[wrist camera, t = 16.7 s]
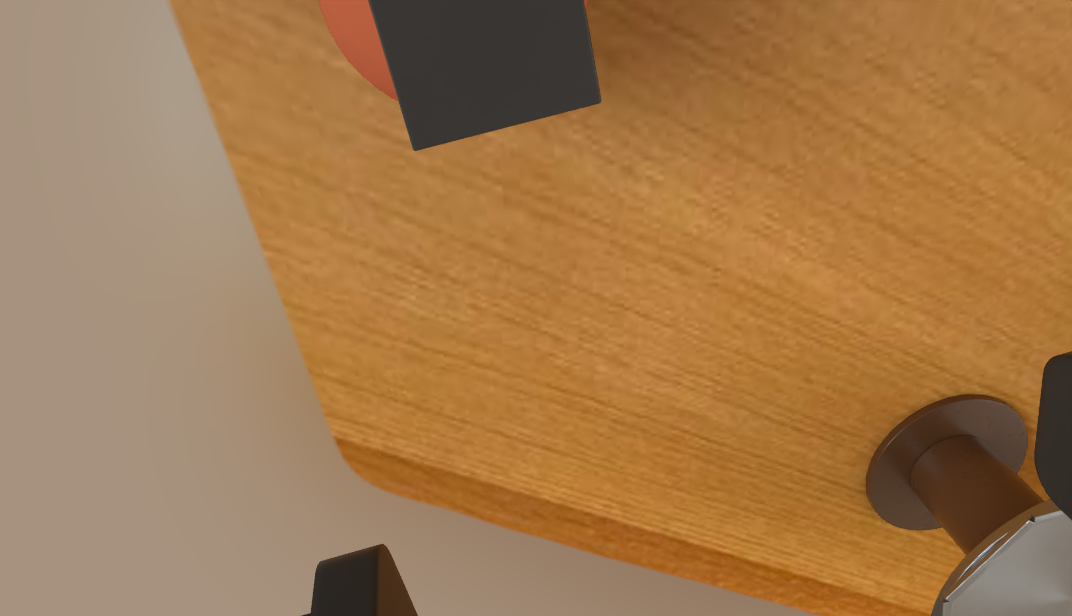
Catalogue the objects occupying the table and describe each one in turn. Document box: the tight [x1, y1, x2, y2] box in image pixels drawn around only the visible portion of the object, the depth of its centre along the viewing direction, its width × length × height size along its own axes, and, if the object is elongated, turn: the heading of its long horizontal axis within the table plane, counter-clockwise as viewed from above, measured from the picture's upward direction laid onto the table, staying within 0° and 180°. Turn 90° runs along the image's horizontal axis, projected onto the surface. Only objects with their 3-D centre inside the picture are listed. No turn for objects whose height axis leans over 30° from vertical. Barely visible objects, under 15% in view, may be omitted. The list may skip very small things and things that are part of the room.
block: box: [368, 0, 601, 151], centre depth 20 cm, size 4×4×6 cm
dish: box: [866, 395, 1072, 616], centre depth 44 cm, size 14×14×11 cm
